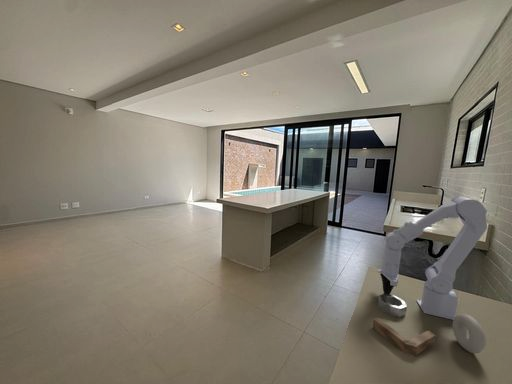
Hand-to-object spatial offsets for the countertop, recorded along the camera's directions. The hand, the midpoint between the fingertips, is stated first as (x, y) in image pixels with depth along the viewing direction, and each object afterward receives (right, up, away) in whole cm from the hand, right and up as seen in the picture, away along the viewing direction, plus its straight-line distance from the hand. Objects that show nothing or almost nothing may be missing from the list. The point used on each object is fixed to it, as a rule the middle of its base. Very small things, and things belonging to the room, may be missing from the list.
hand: (386, 292), depth 88 cm
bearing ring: (-3, -2, -8) cm, 9 cm away
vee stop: (-8, -4, -23) cm, 25 cm away
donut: (+9, -6, -24) cm, 26 cm away
